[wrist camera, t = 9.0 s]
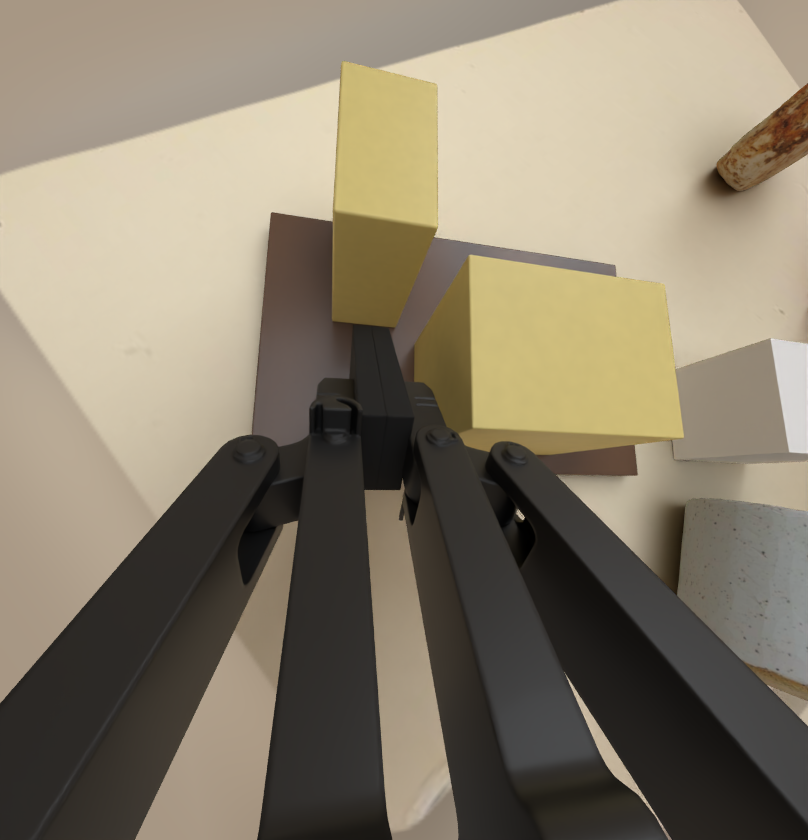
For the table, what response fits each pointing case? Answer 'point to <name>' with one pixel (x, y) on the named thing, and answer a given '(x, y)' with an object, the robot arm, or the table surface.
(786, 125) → the stone disc
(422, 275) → the butter board
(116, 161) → the table surface
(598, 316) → the butter block
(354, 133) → the block
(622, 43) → the table surface
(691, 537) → the ceramic mug
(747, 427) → the white cube
